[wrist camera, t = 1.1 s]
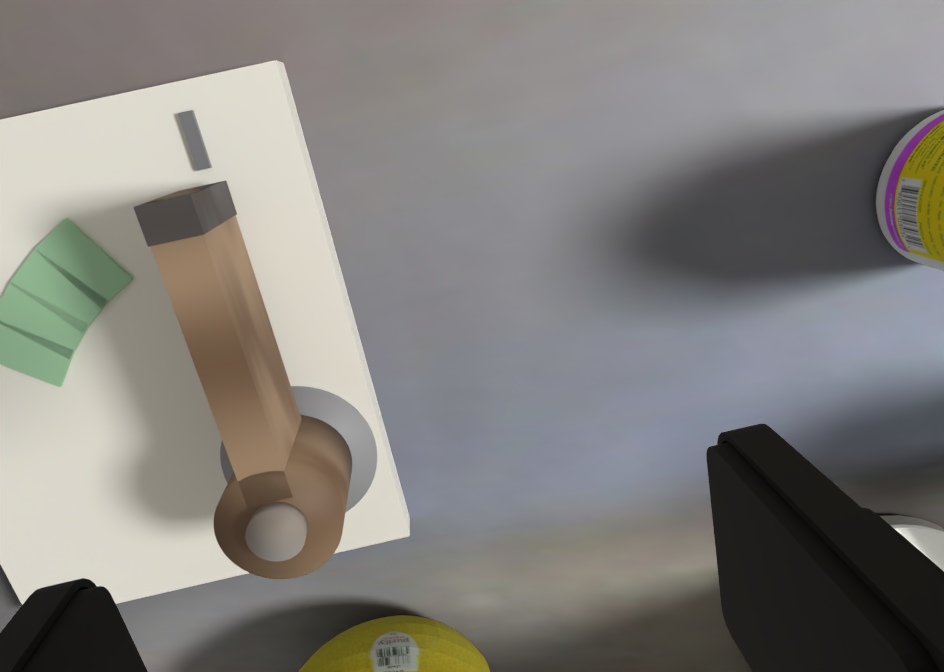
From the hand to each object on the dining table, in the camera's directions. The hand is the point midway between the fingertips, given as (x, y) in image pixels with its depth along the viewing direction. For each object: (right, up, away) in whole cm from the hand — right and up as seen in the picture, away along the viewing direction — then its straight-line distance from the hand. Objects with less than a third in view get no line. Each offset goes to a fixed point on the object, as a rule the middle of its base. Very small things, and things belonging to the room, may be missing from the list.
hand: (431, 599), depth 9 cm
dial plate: (-13, +2, +19) cm, 23 cm away
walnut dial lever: (-8, +3, +17) cm, 19 cm away
